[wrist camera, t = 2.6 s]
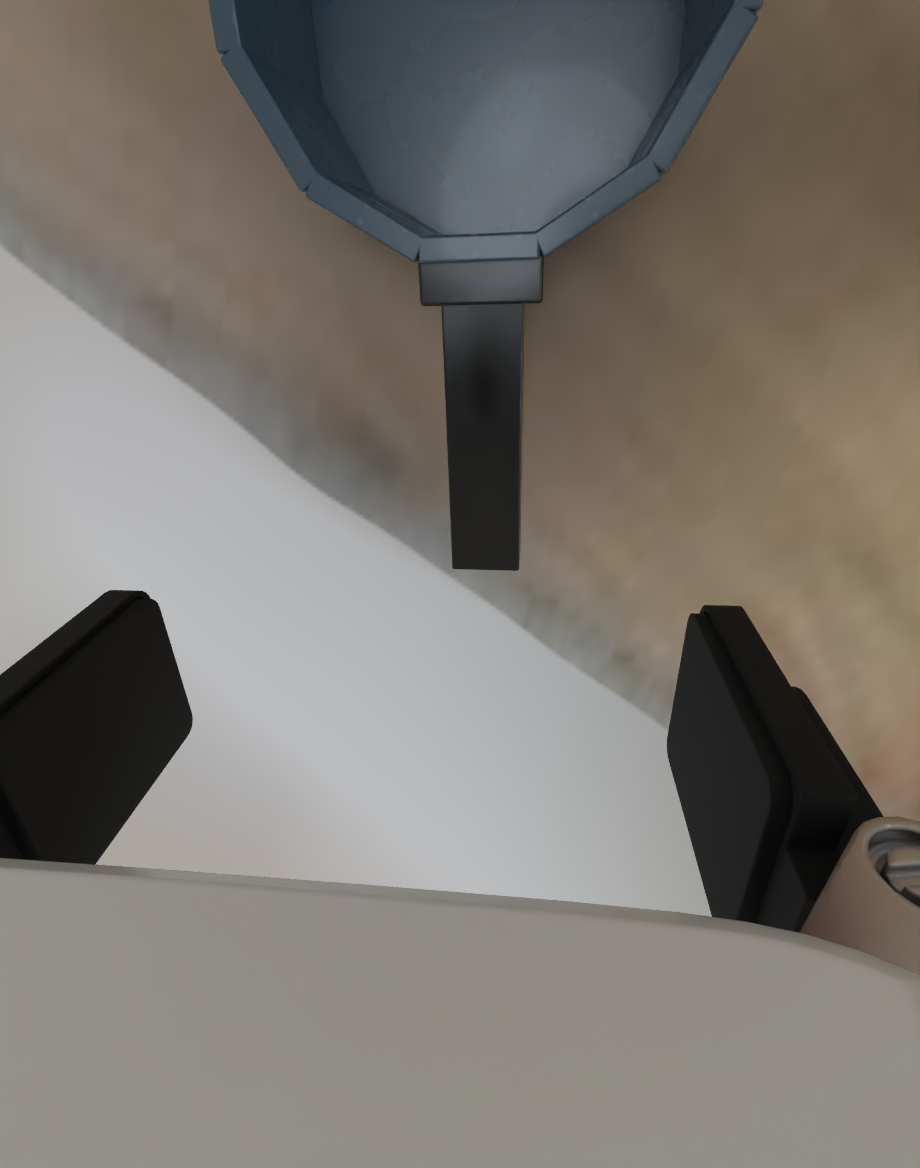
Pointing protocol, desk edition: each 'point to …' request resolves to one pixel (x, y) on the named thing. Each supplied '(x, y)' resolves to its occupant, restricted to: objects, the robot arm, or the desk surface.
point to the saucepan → (479, 165)
